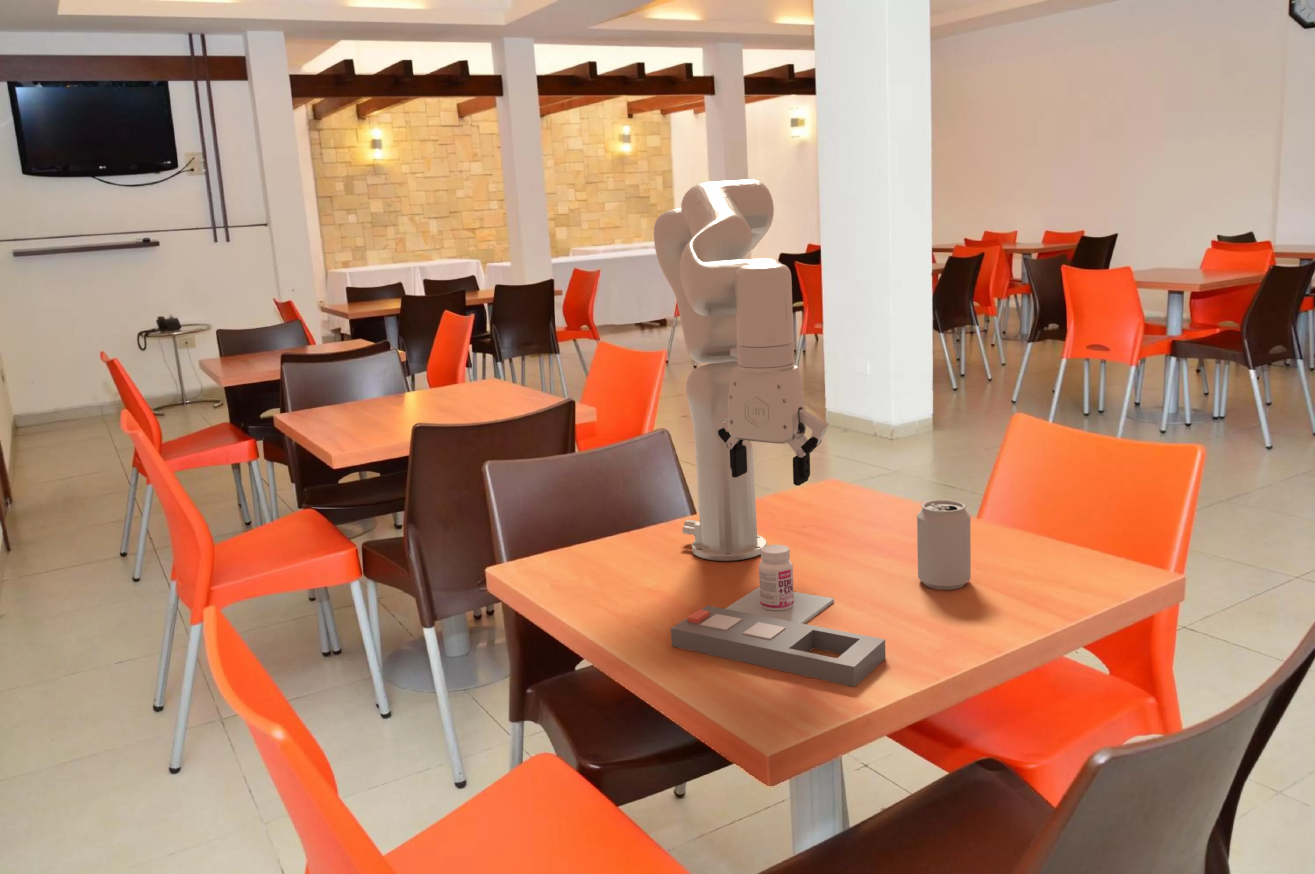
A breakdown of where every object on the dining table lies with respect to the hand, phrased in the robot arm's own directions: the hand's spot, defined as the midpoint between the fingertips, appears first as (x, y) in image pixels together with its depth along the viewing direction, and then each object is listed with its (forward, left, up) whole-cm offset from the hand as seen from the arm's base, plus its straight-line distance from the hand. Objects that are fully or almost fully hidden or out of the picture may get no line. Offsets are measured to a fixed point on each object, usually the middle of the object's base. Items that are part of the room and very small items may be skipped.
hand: (769, 478), depth 143 cm
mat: (0, 0, -19) cm, 19 cm away
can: (+17, +20, -19) cm, 32 cm away
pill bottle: (+1, 0, -19) cm, 19 cm away
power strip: (+7, -13, -19) cm, 24 cm away
